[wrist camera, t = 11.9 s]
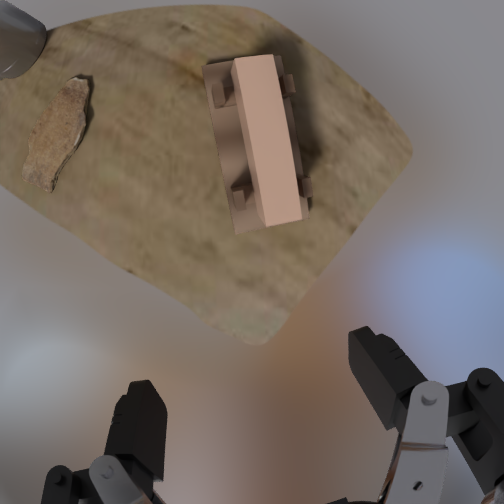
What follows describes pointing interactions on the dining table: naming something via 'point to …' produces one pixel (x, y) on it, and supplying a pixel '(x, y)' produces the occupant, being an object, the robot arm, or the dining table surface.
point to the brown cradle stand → (234, 147)
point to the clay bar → (266, 139)
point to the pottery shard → (57, 134)
